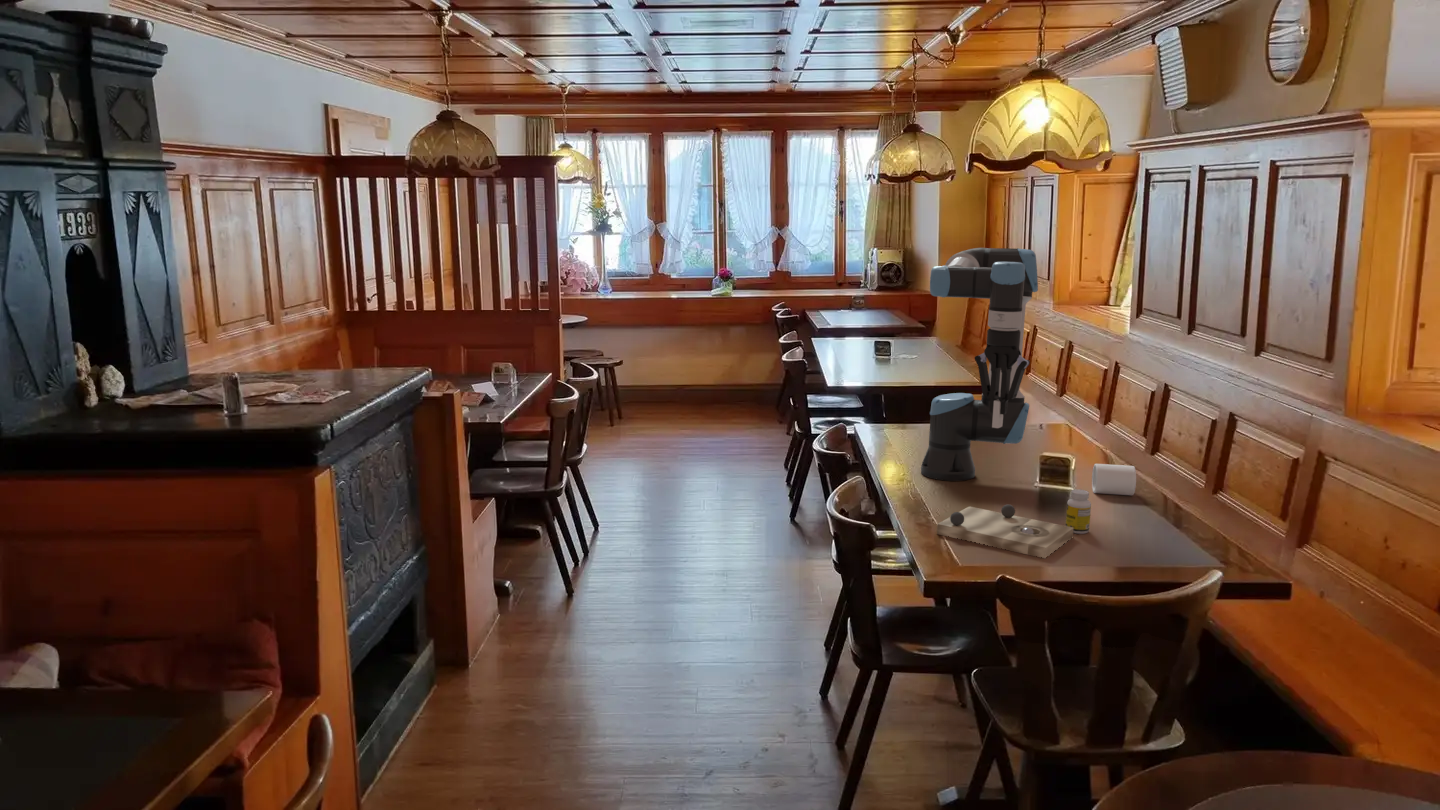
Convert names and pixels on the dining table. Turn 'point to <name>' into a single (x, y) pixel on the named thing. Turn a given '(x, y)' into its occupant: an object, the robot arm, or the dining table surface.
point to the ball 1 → (957, 518)
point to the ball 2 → (1008, 511)
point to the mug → (1113, 479)
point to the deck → (1007, 532)
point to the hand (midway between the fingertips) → (997, 426)
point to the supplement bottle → (1078, 511)
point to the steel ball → (1027, 531)
